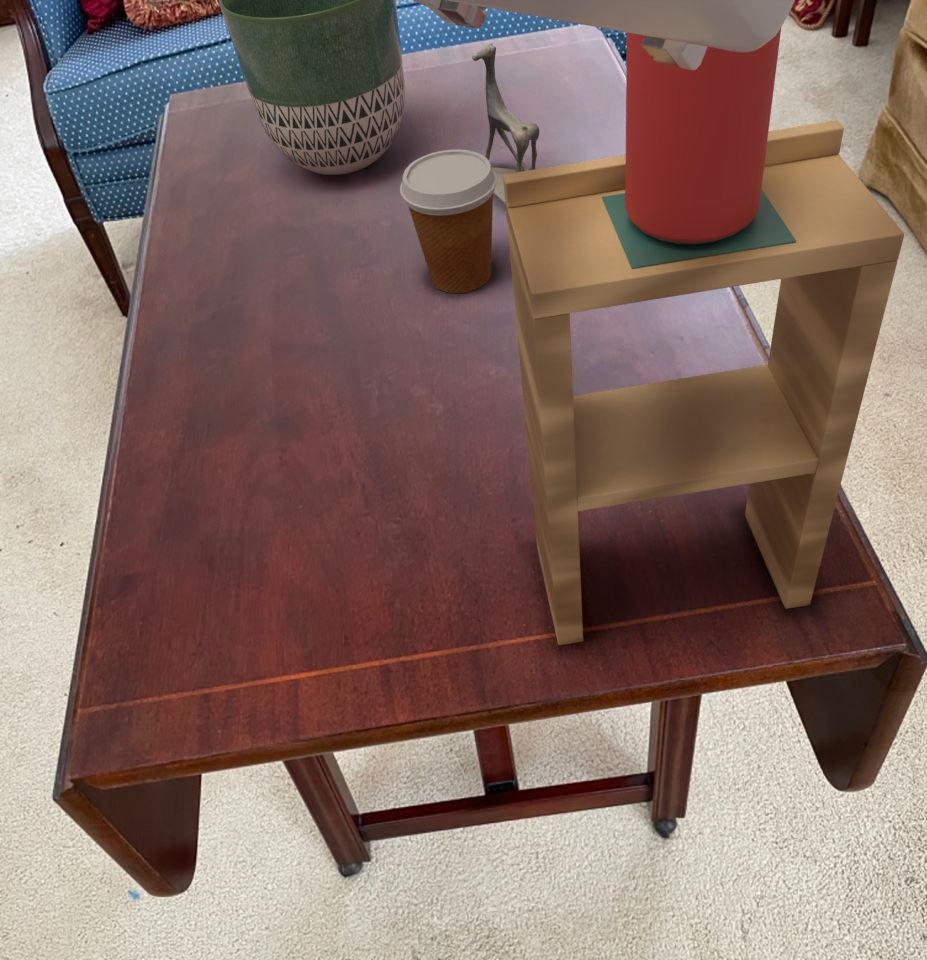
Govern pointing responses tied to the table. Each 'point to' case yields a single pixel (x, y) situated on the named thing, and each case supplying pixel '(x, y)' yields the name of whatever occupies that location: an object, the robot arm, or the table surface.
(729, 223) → the beer can
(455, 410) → the table surface
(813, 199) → the shelf
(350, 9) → the planter
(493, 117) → the figurine
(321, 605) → the table surface
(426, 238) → the disposable coffee cup
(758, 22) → the robot arm
